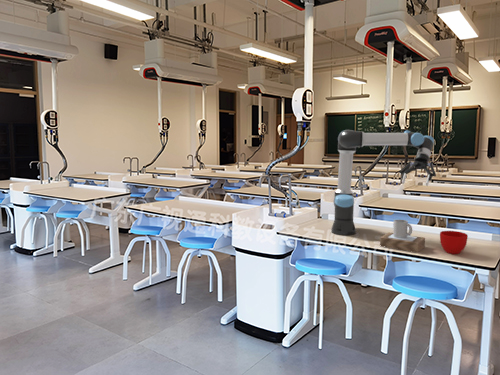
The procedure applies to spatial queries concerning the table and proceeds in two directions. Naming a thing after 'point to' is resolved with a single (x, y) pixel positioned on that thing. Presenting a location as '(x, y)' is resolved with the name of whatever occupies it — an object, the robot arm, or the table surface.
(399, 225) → the cup
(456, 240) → the ceramic cup
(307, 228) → the table surface
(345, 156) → the robot arm
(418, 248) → the plinth
